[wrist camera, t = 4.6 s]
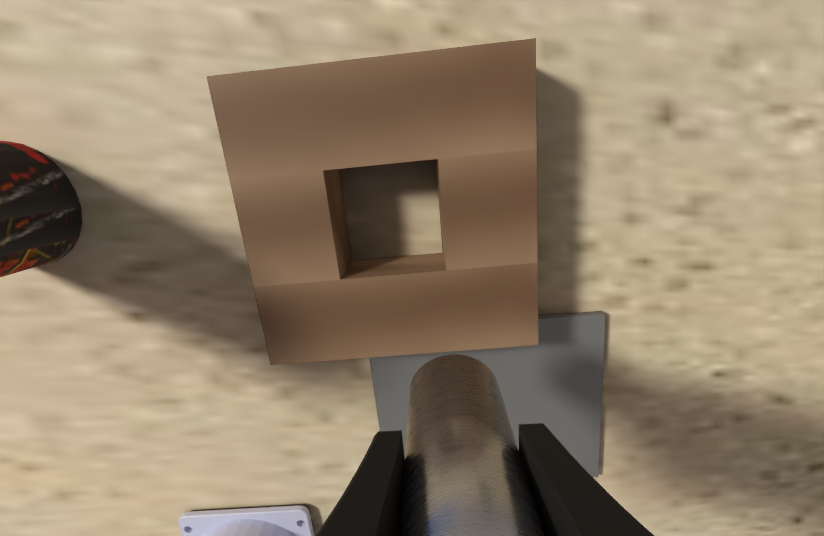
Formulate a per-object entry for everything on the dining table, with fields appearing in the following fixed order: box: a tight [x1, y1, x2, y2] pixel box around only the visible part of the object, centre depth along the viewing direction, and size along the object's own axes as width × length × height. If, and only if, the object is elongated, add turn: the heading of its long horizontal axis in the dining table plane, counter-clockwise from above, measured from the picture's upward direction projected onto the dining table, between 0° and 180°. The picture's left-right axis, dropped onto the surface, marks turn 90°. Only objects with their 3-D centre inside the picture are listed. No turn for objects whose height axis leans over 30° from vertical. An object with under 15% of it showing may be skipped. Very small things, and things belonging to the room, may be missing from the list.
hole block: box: [207, 38, 538, 365], centre depth 17 cm, size 12×12×3 cm
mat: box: [370, 311, 605, 477], centre depth 21 cm, size 10×12×1 cm
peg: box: [400, 354, 545, 536], centre depth 9 cm, size 3×3×9 cm
